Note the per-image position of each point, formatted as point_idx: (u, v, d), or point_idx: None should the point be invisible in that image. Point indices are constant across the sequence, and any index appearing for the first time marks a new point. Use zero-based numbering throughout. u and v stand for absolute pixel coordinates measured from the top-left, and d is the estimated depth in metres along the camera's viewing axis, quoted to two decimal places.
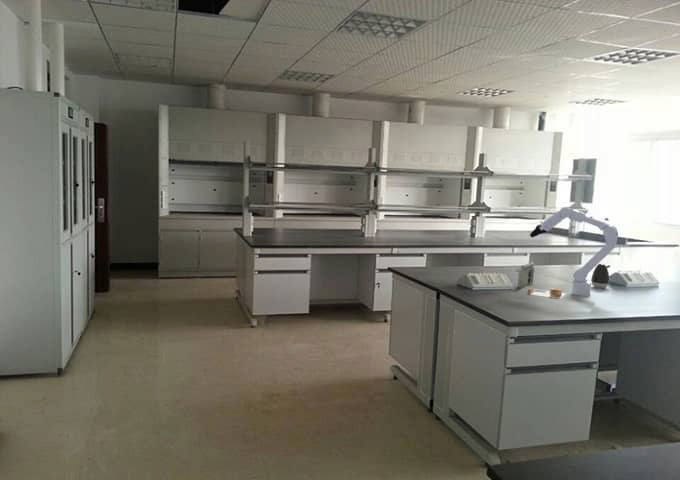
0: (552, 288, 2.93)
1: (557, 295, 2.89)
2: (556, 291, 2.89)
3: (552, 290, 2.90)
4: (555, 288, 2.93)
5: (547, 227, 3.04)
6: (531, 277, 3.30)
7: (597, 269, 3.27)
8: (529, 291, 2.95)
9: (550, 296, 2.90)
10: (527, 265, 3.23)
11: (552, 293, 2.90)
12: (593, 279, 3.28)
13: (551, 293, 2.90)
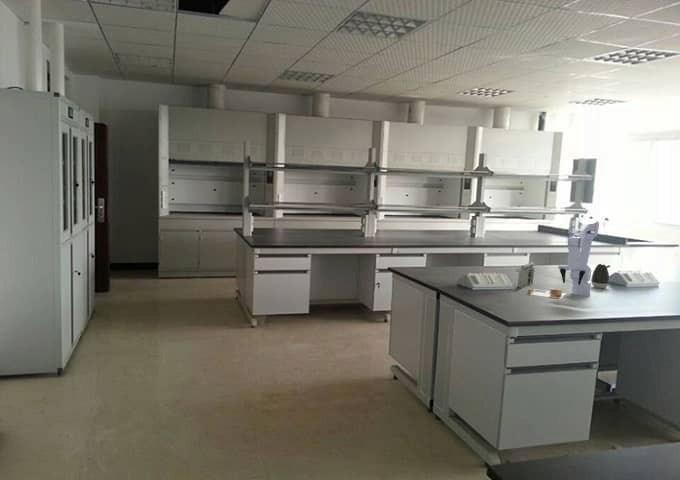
0: (552, 288, 2.93)
1: (557, 295, 2.89)
2: (556, 291, 2.89)
3: (552, 290, 2.90)
4: (555, 288, 2.93)
5: None
6: (531, 277, 3.30)
7: (597, 269, 3.27)
8: (529, 291, 2.95)
9: (550, 296, 2.90)
10: (527, 265, 3.23)
11: (552, 293, 2.90)
12: (593, 279, 3.28)
13: (551, 293, 2.90)
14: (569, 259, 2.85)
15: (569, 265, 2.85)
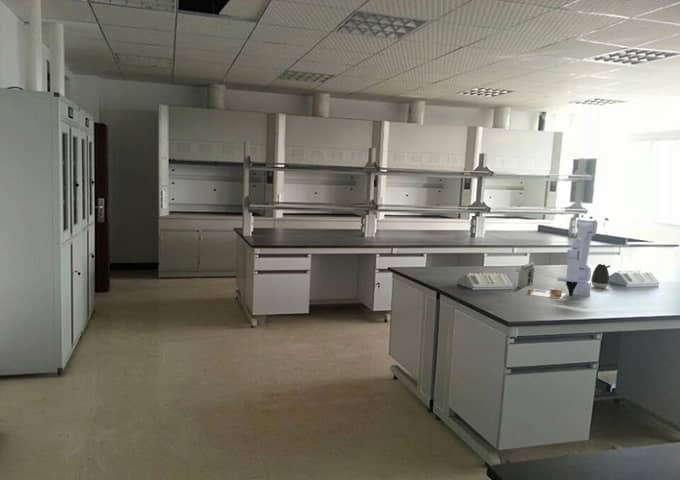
0: (552, 288, 2.93)
1: (557, 295, 2.89)
2: (556, 291, 2.89)
3: (552, 290, 2.90)
4: (555, 288, 2.93)
5: None
6: (531, 277, 3.30)
7: (597, 269, 3.27)
8: (529, 291, 2.95)
9: (550, 296, 2.90)
10: (527, 265, 3.23)
11: (552, 293, 2.90)
12: (593, 279, 3.28)
13: (551, 293, 2.90)
14: (568, 271, 2.85)
15: (568, 277, 2.85)
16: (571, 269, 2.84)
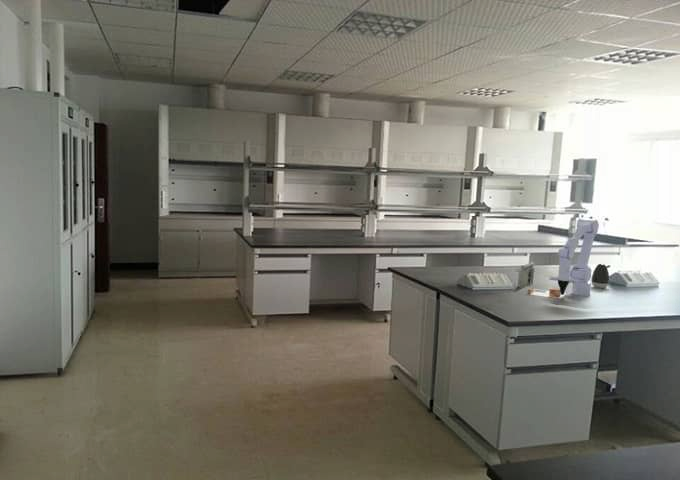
0: (551, 288, 2.93)
1: (556, 295, 2.89)
2: (555, 291, 2.89)
3: (551, 290, 2.90)
4: (554, 288, 2.93)
5: None
6: (531, 277, 3.30)
7: (597, 269, 3.27)
8: (529, 291, 2.95)
9: (550, 296, 2.90)
10: (527, 265, 3.23)
11: (551, 293, 2.90)
12: (593, 279, 3.28)
13: (550, 293, 2.91)
14: (560, 270, 2.87)
15: (560, 276, 2.88)
16: (561, 268, 2.87)
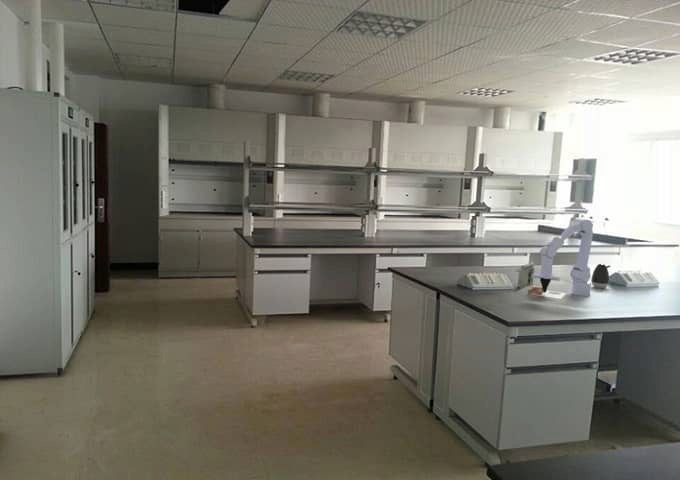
0: (533, 286, 2.98)
1: (538, 292, 2.94)
2: (537, 289, 2.94)
3: (533, 288, 2.95)
4: (536, 286, 2.98)
5: None
6: (531, 277, 3.30)
7: (597, 269, 3.27)
8: (529, 291, 2.95)
9: (550, 296, 2.90)
10: (527, 265, 3.23)
11: (533, 291, 2.95)
12: (593, 279, 3.28)
13: (532, 290, 2.96)
14: (542, 268, 2.92)
15: (542, 274, 2.92)
16: (542, 266, 2.92)
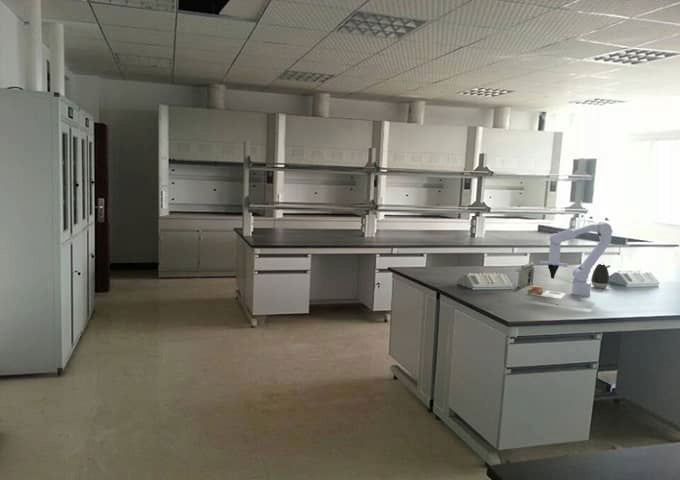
0: (534, 286, 2.98)
1: (538, 292, 2.94)
2: (537, 289, 2.94)
3: (533, 288, 2.95)
4: (536, 286, 2.98)
5: None
6: (531, 277, 3.30)
7: (597, 269, 3.27)
8: (529, 291, 2.95)
9: (550, 296, 2.90)
10: (527, 265, 3.23)
11: (533, 290, 2.95)
12: (593, 279, 3.28)
13: (532, 290, 2.96)
14: (550, 255, 3.00)
15: (550, 260, 3.00)
16: (549, 252, 3.02)
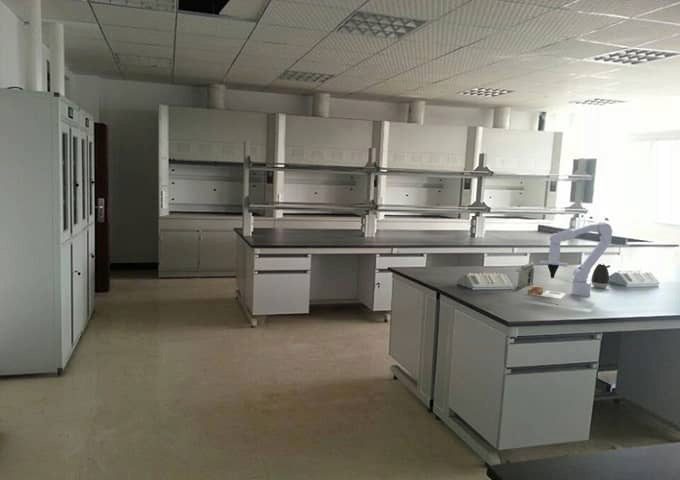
0: (534, 286, 2.98)
1: (538, 292, 2.94)
2: (537, 289, 2.94)
3: (533, 288, 2.95)
4: (536, 286, 2.98)
5: None
6: (531, 277, 3.30)
7: (597, 269, 3.27)
8: (529, 291, 2.95)
9: (550, 296, 2.90)
10: (527, 265, 3.23)
11: (533, 290, 2.95)
12: (593, 279, 3.28)
13: (532, 290, 2.96)
14: (550, 254, 3.01)
15: (550, 260, 3.01)
16: (549, 252, 3.03)
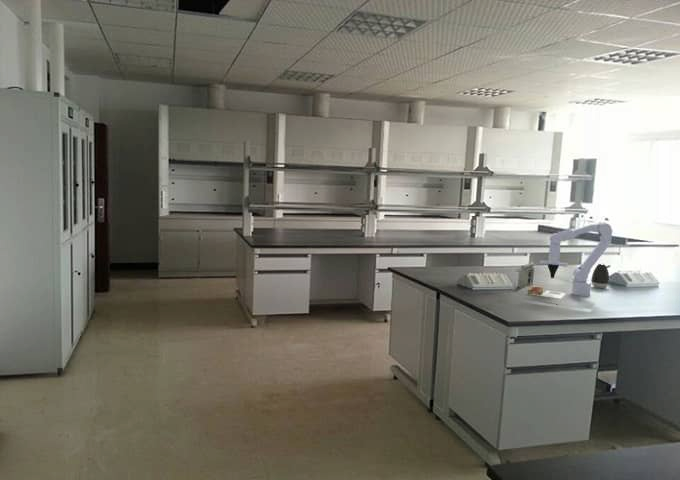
0: (534, 286, 2.98)
1: (538, 292, 2.94)
2: (537, 289, 2.94)
3: (533, 288, 2.95)
4: (536, 286, 2.98)
5: None
6: (531, 277, 3.30)
7: (597, 269, 3.27)
8: (529, 291, 2.95)
9: (550, 296, 2.90)
10: (527, 265, 3.23)
11: (533, 290, 2.95)
12: (593, 279, 3.28)
13: (532, 290, 2.96)
14: (550, 254, 3.01)
15: (550, 260, 3.01)
16: (549, 252, 3.03)
